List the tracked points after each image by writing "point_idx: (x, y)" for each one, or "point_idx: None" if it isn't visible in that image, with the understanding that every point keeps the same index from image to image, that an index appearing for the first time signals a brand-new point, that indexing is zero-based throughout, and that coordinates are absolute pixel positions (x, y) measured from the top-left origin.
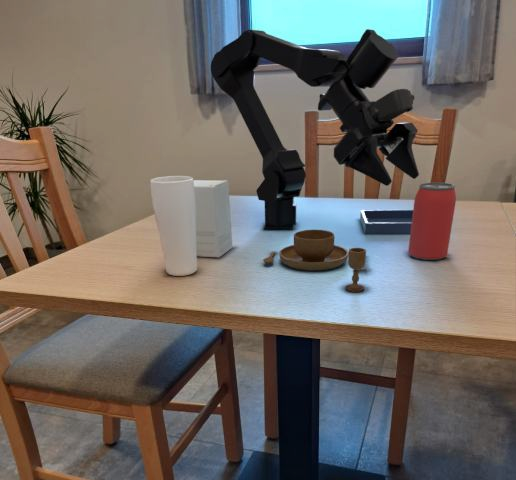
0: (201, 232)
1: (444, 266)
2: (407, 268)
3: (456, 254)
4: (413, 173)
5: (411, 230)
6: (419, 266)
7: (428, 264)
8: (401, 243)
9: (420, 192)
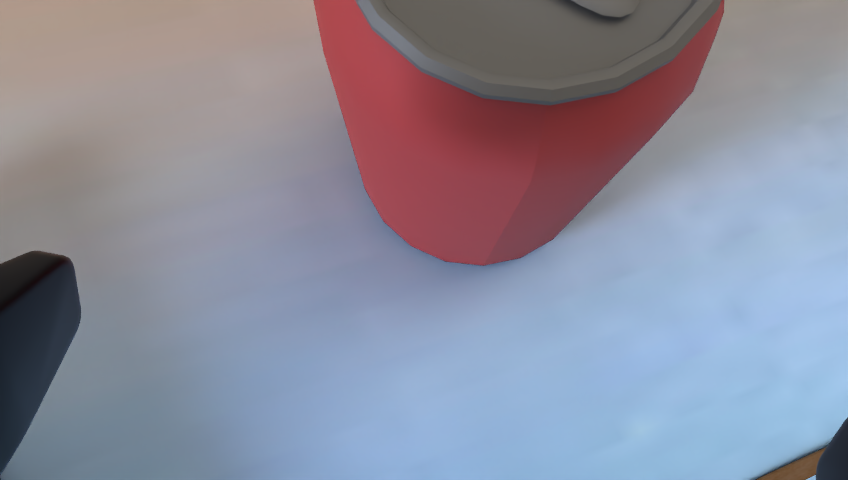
0: None
1: None
2: (762, 184)
3: None
4: (40, 334)
5: (562, 220)
6: (691, 137)
7: None
8: (261, 388)
9: (680, 68)
